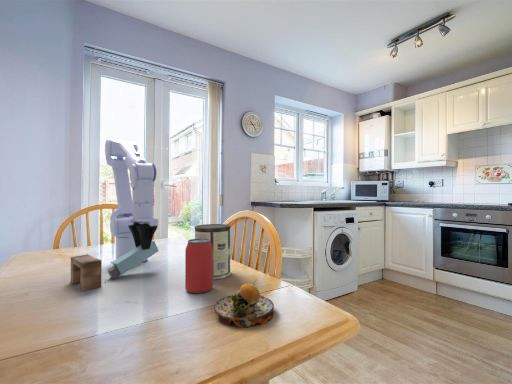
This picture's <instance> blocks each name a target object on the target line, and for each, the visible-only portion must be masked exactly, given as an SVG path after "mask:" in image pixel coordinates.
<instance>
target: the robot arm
mask: <svg viewBox="0 0 512 384" xmlns="http://www.w3.org/2000/svg"><path fill="white" fill-rule="evenodd" d="M104 153H105V161H106V164H107V165H108V166H110V167H111V168H112V169H111V170H112V172H113V179H114V187H115V194H116V195H115V196H116V202H117V209H115V210H114V211H113V212H112V213H111V215H110V217H109V218H110V219H109V222H110V223H109V229H110V233H111V235H112V236H113V237H115V259H111V260H112V262H113V261H115V260H116V259H118V258H120V257H121V256H123V255H125V254H126V253H128V252H130V251H131V250H133V249H135V248H136V247H138V246H140V245H141V248H142V250H146V249H150V246H151V242H152V241H153V238H154V235H155V233H156V231H157V229H158V226H159V218H156V217H154V183H155V181H156V180H157V179H156V178H157V167H156V164H155V163H152V162H151V163H148V161H147V160H146V159H145V158H144V155H142V154H141V152H139V151H138V144H137V143H136V141H133V140H132V141H129V140H122V139H114V138H113V139H112V138H107V139H106V140H105V145H104ZM128 170H129V171H128ZM146 260H147V261H149V258H147V259H146ZM146 260H144V261H143V262H146ZM112 262H111V263H112Z"/></svg>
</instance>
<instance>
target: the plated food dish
mask: <svg viewBox="0 0 512 384" xmlns="http://www.w3.org/2000/svg"><path fill="white" fill-rule="evenodd" d="M256 281H257V277H256V279H255V281H254V283H253V284H252V283H244V284H242V285H241V286H240V288H239V290H238V291H237V292H236V293H234V294H232V295H228V296H225V297H223V298H220V299H219V300H218V301H216V302H215V305H214V314H216V315H218V317H219V324H223V326H229V327H230V326H231V325H230V324H231V322H232V321H233V323H234V324H235V325H236V326H237V327H238V328H241V329H242V328H243V329H244V328H245V327H246V328H247V329H248V328H249V327H250V326H252V325H253V326H255V325H256V324H260V325H261V326H262V325H264V324H266V323H267V322H268V321H271V320H272V319H273V318H274V316H275V311H274V308H275V307H274V305H275V304H274V302H273V301H272V300H271V299H270V298H269V297H265V296H264V295H261V294H260V291H259V289H258V287H257V286H256V285H255V283H256Z"/></svg>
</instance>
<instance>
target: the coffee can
mask: <svg viewBox="0 0 512 384" xmlns="http://www.w3.org/2000/svg"><path fill="white" fill-rule="evenodd" d="M199 238H204V239H210V240H211V244H212V247H213V281H215V280H222V279H225V278H228V277H229V276H231V225H230V224H225V223H223V224H222V223H208V224H206V223H205V224H199V225H195V226H194V239H199Z"/></svg>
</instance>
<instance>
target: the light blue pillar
mask: <svg viewBox="0 0 512 384" xmlns="http://www.w3.org/2000/svg"><path fill="white" fill-rule="evenodd" d="M158 252H159V249H158V246H157V244H156V241H155V240H152V242H151V246H150V249H146V250H142V248H141V245H140V246H138V247H136V248H135V249H133V250H131V251H130V252H128V253H126V254H125V255H123V256H121V257H120V258H118V259H116V258H115V259H114V260H115V261H113V262H111V264H112V266H111V267H109V268H108V269H107V270H106V271H107V273H108V275H109V277H110V278H111V279H112V280H116V279H117V278H119V277H120V276H123V275H124V274H126V273H127V272H129V271H130V270H132V269H133V268H135V267H136V266H138V265H140V264H142V263H143V262H145V261H144V260H146V259H149V258H150V257H152V256H153V255H155V254H156V253H158Z"/></svg>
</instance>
